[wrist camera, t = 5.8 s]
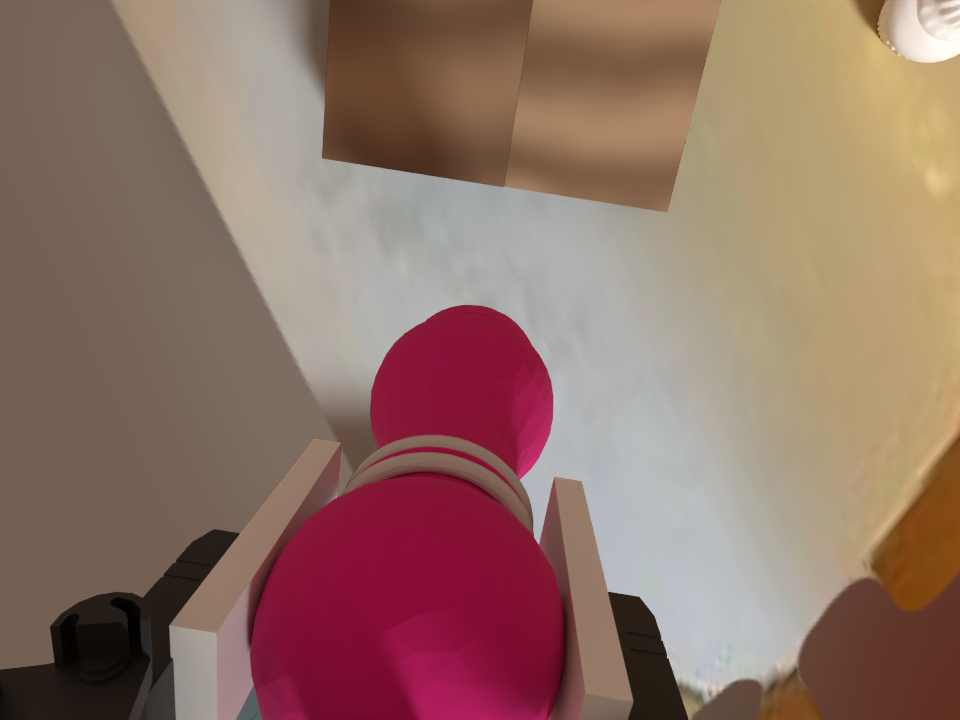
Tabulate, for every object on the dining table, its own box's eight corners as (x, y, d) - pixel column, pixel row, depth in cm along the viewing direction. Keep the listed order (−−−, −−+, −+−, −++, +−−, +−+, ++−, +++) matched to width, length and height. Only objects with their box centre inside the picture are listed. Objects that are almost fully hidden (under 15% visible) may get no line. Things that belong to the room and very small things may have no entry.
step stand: (652, 209, 40) (685, 216, 32) (358, 162, 40) (322, 158, 32) (715, -47, 35) (772, -111, 27) (377, -100, 35) (339, -177, 27)
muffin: (837, 62, 36) (910, 35, 29) (877, -45, 34) (965, -99, 28) (927, 82, 36) (1020, 60, 30) (972, -24, 34) (1083, -73, 28)
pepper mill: (365, 350, 26) (-45, 818, 7) (487, 262, 24) (398, 552, 5) (455, 461, 27) (329, 1093, 8) (576, 385, 26) (757, 955, 7)
